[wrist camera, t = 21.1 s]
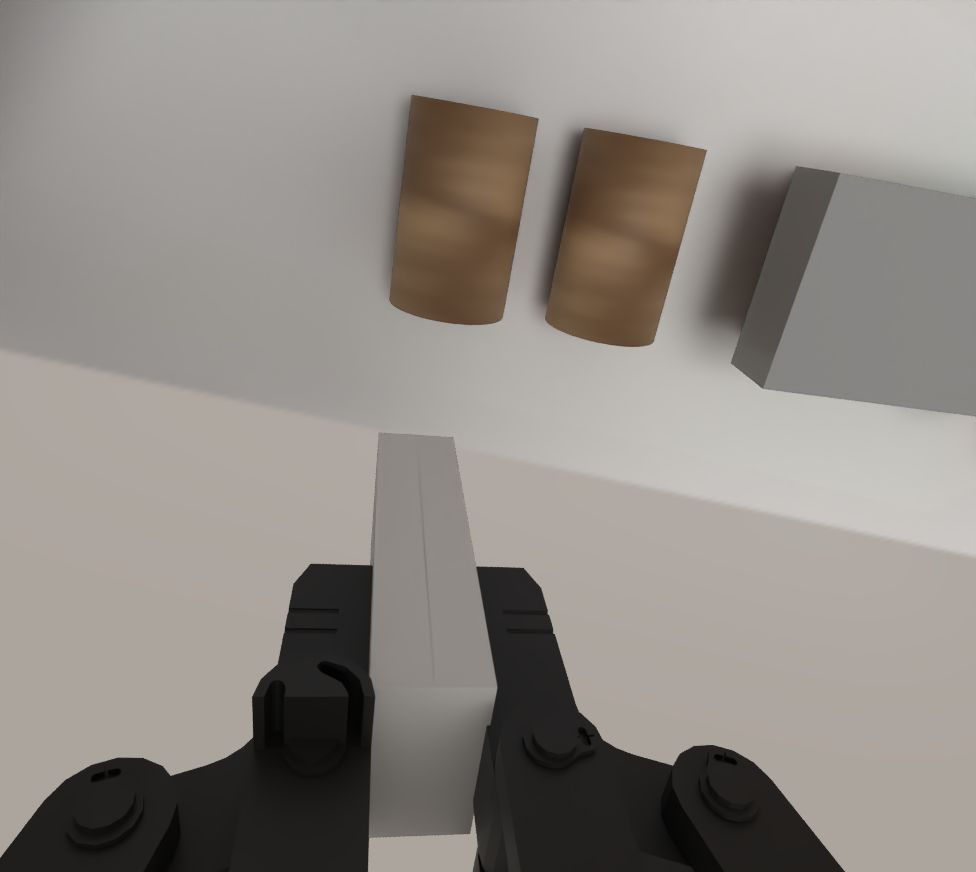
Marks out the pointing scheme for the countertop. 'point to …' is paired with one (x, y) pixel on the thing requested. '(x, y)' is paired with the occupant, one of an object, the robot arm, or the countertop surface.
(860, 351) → the slab
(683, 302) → the countertop surface
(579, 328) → the resting rollers
